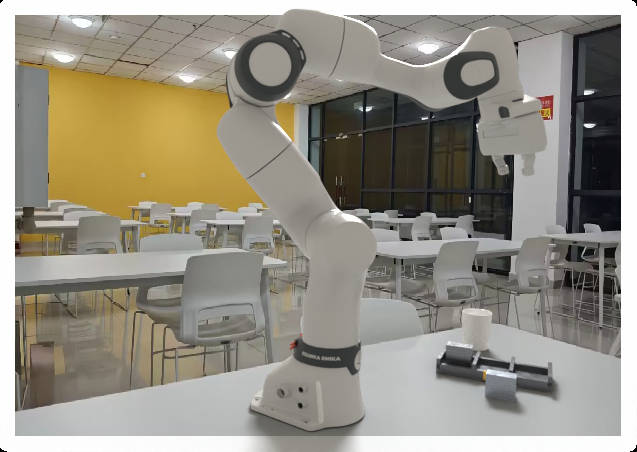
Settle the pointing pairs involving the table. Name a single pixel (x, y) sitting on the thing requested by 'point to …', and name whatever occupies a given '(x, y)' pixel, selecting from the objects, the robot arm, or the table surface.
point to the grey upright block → (501, 385)
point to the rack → (491, 367)
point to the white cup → (476, 328)
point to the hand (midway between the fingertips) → (515, 174)
